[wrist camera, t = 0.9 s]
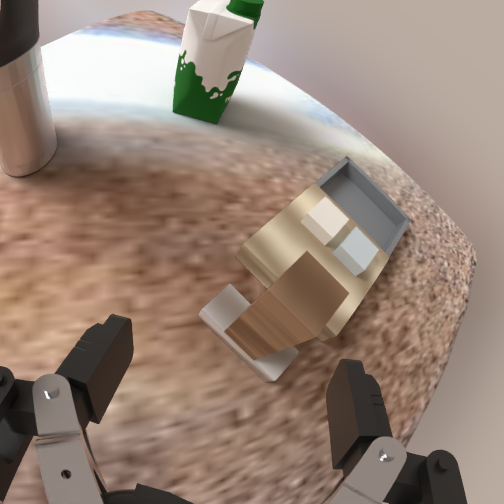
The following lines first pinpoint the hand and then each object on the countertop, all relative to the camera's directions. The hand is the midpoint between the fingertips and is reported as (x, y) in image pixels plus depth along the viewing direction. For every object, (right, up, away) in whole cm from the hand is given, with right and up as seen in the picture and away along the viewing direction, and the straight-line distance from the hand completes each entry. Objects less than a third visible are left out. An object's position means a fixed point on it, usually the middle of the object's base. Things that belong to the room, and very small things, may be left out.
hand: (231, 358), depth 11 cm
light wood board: (+8, +3, +28) cm, 30 cm away
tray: (+16, +10, +34) cm, 39 cm away
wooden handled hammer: (0, -5, +22) cm, 23 cm away
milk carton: (-7, +27, +35) cm, 45 cm away
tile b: (+13, +4, +26) cm, 29 cm away
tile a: (+9, +7, +27) cm, 29 cm away
